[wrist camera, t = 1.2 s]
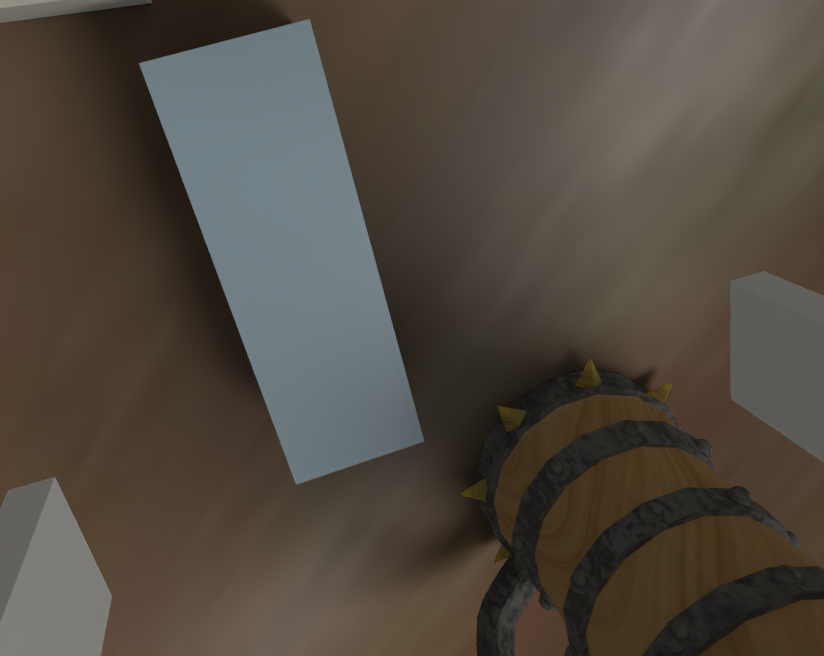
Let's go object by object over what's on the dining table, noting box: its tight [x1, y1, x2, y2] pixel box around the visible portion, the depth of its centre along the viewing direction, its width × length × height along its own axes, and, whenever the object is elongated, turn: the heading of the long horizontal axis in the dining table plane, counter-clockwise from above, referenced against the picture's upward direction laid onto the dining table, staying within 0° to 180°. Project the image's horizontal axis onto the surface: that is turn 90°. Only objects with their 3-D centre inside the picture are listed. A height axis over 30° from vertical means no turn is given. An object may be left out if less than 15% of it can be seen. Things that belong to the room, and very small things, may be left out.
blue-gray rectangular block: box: [139, 19, 424, 485], centre depth 26 cm, size 5×15×6 cm, turn 14°
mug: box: [458, 357, 824, 656], centre depth 27 cm, size 13×17×20 cm
